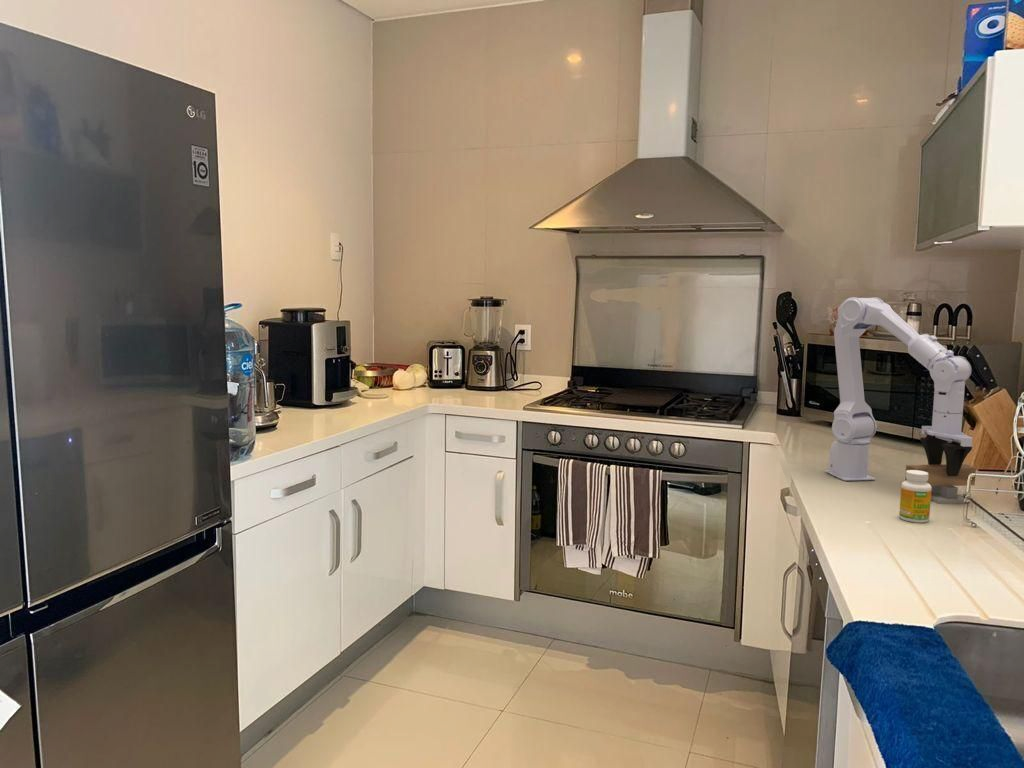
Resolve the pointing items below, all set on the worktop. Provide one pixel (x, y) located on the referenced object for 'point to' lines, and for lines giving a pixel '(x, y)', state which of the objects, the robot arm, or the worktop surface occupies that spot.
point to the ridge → (945, 495)
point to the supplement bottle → (915, 497)
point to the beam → (944, 475)
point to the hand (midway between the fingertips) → (943, 472)
